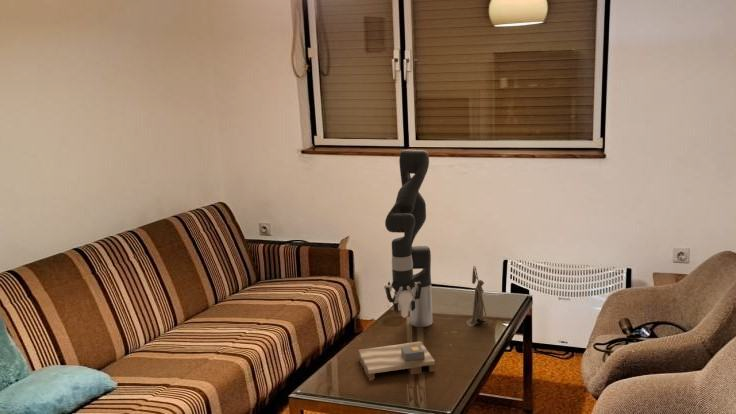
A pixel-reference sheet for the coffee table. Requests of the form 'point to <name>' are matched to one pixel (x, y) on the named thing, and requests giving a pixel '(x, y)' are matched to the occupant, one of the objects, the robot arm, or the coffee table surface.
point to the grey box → (412, 353)
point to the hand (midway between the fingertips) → (404, 310)
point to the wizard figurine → (477, 301)
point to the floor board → (392, 360)
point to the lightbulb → (404, 302)
